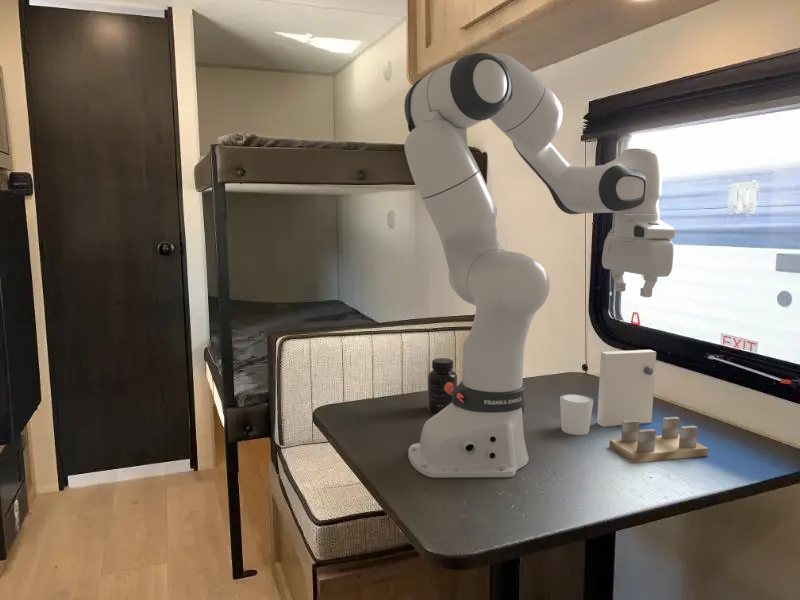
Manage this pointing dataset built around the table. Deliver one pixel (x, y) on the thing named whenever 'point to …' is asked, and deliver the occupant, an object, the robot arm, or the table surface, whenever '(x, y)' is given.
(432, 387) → the supplement bottle
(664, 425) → the peg board base
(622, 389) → the rectangular slab
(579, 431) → the white cup
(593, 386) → the table surface
